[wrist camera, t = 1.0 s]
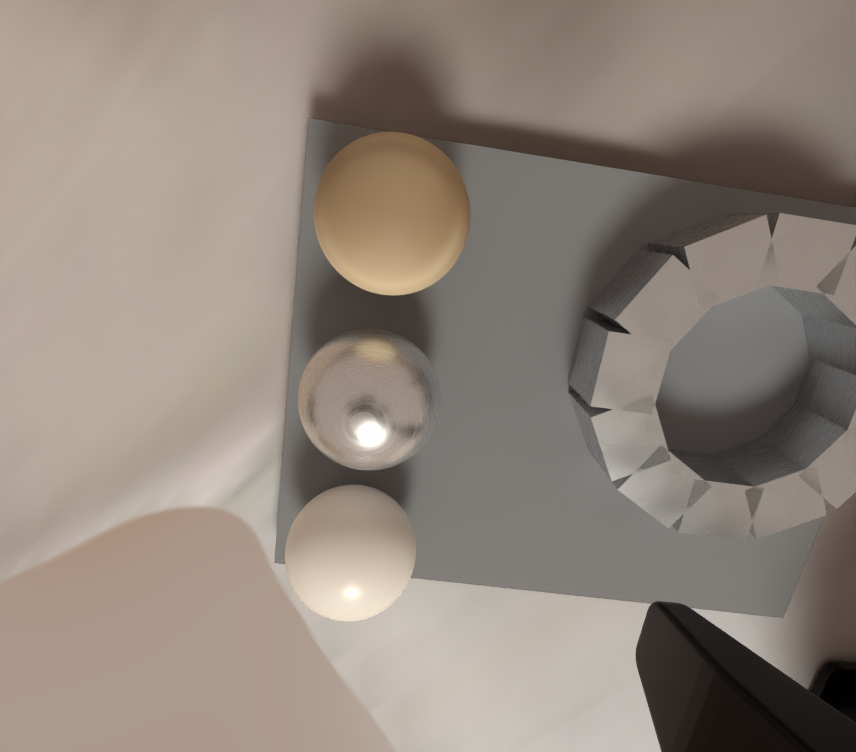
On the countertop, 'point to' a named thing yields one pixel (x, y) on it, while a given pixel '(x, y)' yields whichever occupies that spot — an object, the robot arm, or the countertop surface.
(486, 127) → the countertop surface
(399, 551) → the plastic ball
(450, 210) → the tan wooden ball
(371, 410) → the steel ball
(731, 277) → the crimped metal cup
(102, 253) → the countertop surface
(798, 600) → the countertop surface
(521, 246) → the mat
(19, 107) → the countertop surface
